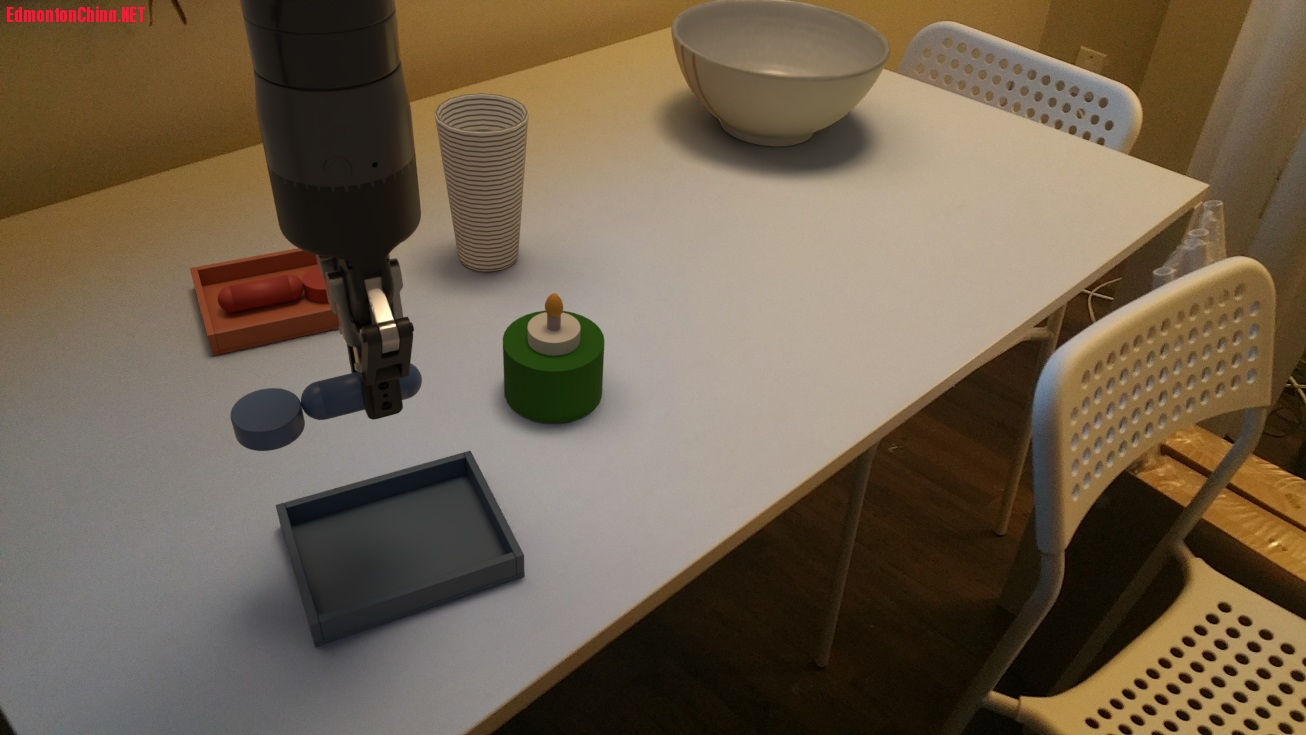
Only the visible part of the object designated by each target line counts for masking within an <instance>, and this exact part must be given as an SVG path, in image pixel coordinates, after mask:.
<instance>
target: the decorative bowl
mask: <svg viewBox="0 0 1306 735" xmlns="http://www.w3.org/2000/svg"><path fill="white" fill-rule="evenodd" d="M670 27H671V28H670V29H671V30H670V31H671V33H670V34H671V40H672V45H673V49H674V54H675V58H676V60H677V63H678V66H679V68H680V72H681V74H682V76H683V78H684V80H685V82H686V84H687V86H688V88H689V89H690V90H691V92H692V94H693V95H694V97H695V98H696V99H697V101H698V102H699V103H700V104H701V105H702V107H704V109H705V110H707V111H708V112H709V113H710V114H711V115H712V116H713V117H715V118H716V119H718V120H719V124H720V126H721V128H722V129H723V130H724V131H725V132H726V133H727V134H729V135H730V136H732V137H734V138H736V139H738V140H740V141H743V142H747V143H748V144H749V143H750V144H753V145H759V146H764V147H789V146H795V145H799V144H803V143H804V142H807V141H809V140H810V139H811V138H812V137H813V135H814V134H815V133H816V132H819V131H821V130H823V129H826V128H828V127H830V126H832V125H833V124H835V123H837V122H838V121H840V120H841V119H843V118H844V117H845V116H846V115H848V114H849V113H850V112H851V111H852V110H853V109H854V108H856V107H857V106H858V104H860V102H862V100H863V99H864V98H865V97H866V96H867V94H868V93H869V92H870V90H871V89H872V88H873V87H874V85H875V84H876V82H877V80H878V79H879V78H880V76H881V75H882V72H883V70H884V69H885V66H886V64H887V63H888V60H889V57H890V53H891V47H890V44H889V42H888V40H887V38H886V37H885V35H884V34H882V32H880V31H879V30H878V29H877V28H876V27H874V26H872V25H871V24H869V23H867V22H866V21H864V20H862V19H860V18H858V17H856V16H853V15H851V14H849V13H846V12H843V11H840V10H837V9H833V8H830V7H827V6H823V5H818V4H815V3H809V2H804V1H799V0H798V1H797V0H710V1H704V2H701V3H698V4H695V5H692V6H690V7H687V8H686V9H684V10H683V11H681V12H679V13H678V14H677V15H676V16H675V18H674V19H673V21H672V23H671V26H670Z"/></svg>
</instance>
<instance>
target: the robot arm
mask: <svg viewBox="0 0 1306 735" xmlns="http://www.w3.org/2000/svg"><path fill="white" fill-rule="evenodd" d="M239 4H240V9H241V12H242V18H243V23H244V29H245V33H246V39H247V43H248V49H249V54H250V58H251V63H252V68H253V69H252V70H253V76H254V91H255V92H254V94H255V95H254V96H255V108H256V116H257V122H258V128H259V133H260V137H261V142H262V147H263V151H264V157H265V162H266V167H267V173H268V177H269V182H270V186H271V187H270V188H271V192H272V197H273V202H274V207H275V211H276V217H277V221H278V226H279V229H280V231H281V234H282V236H283V237H284V238H285V239H286V240H287V241H288V242H289V243H290V244H291V245H292V246H294V247H295V248H299V249H301V250H304V251H306V252H309V253H312V254H316V258H317V264H318V267H319V269H320V272H321V274H322V277H323V278H324V281H325V287H326V293H327V299H328V302H329V304H330V307H331V309H332V312H333V313H334V314H335V315H336V316H337V315H338V318H339V324H340V326H339V328H338V331H339V334H340V335H342V337H343V340H344V341H345V343H346V348H347V355H348V361H349V367H350V373H354V372H358V373H359V378H360V384H361V390H362V396H363V401H364V408H365V410H364V412H365V413H366V416H367V418H368V419H369V420H373V421H374V420H379V419H382V418H386V417H390V416H393V415H398V414H399V413H401V412H402V410H403V409H404V404H403V400H402V395H401V387H400V380H399V378H402V377H406V376H409V372H410V363H411V361H412V354H413V353H412V351H413V342H414V332H415V328H414V324H413V322H411V320H410V317H408V316H404V313H403V306H402V305H403V304H402V298H401V291H402V290H403V288H404V282H403V276H402V270H401V266H400V262H399V260H398V258H397V257H394V258H391V256H390V253H391V252H393V250H395V248H397V247H398V246H400V244H401V243H404V242H405V241H406V240H408V239H409V238H410V237H411V236H412V235H414V233H415V232H416V230H417V229H418V227H419V225H420V222H421V219H422V207H421V197H420V196H421V195H420V188H419V187H420V186H419V176H418V167H417V156H416V147H415V136H414V127H413V124H414V123H413V115H412V106H411V100H410V94H409V91H408V87H407V83H406V79H405V76H404V71H403V63H402V60H401V57H402V55H401V45H400V36H399V26H398V18H397V17H398V15H397V7H396V0H239Z"/></svg>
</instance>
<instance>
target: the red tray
mask: <svg viewBox="0 0 1306 735" xmlns="http://www.w3.org/2000/svg"><path fill="white" fill-rule="evenodd" d="M316 267H318V264H317V258H316V254H312V253H309V252H306V251H304V250H301V249H299V248H298V247H296V248H292V249H287V250H281V251H275V252H270V253H264V254H259V255H253V256H247V257H242V258H238V259H232V260H227V261H221V262H216V263H210V264H205V265H200V266H193V267H190V268H189V271H190V275H191V279H192V282H193V286H194V290H195V295H196V298H197V301H198V305H199V310H200V313H201V317H202V321H203V325H204V329H205V333H206V336H207V340H208V343H209V346H210V351H211V355H212V356H213V357H214V356H219V355H223V354H227V353H233V352H237V351H242V350H246V349H252V348H255V347H260V346H265V345H269V344H273V343H279V342H282V341H283V342H284V341H287V340H292V339H297V338H302V337H306V336H311V335H315V334H320V333H324V332H328V331H333V330H337V329H338V330H339V326H340V324H339V318H338V315H337V316H336V315H335V314H334V313H333V312H332V309H331V307H330V304H329V303H316V302H313V301H310V300H309V299H308V298H307V297H306V296H305V292H304V290H303V293H302V295H301V296H300V297H299V298H298V299H296V300H293V301H288V302H283V303H278V304H273V305H268V306H263V307H259V308H254V309H249V310H244V311H239V312H227V311H225V310H223V309H222V308H221V307H220V305H219V303H218V294H219V292H220V291H221V290H222V289H223V288H225V287H227V286H231V285H236V284H242V283H247V282H252V281H257V280H262V279H268V278H273V277H278V276H283V275H294V276H297V277H298V278H299V279H300V280H301V281H302V278H303V275H304V274H305V273H306V272H307V271H309V270H311V269H313V268H316ZM302 283H303V282H302Z"/></svg>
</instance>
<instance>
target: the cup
mask: <svg viewBox="0 0 1306 735" xmlns="http://www.w3.org/2000/svg"><path fill="white" fill-rule="evenodd" d="M433 114H434V120H435V125H436V126H435V127H436V131H437V136H438V137H437V138H438V144H439V149H440V156H441V161H442V167H443V174H444V179H445V185H446V191H447V197H448V203H449V209H450V210H449V211H450V215H451V221H452V227H453V234H454V239H455V246H456V251H457V256H458V259H459V262H460V263H461V264H463V265H464V266H465V267H467V268H468V269H471V270H474V271H477V272H488V273H491V272H497V271H502V270H504V269H507V268H510V267H511V266H512V265H513V264H514V263H515V262H517V259H518V256H519V252H520V237H521V224H522V208H523V196H524V184H525V169H526V155H527V142H528V128H529V114H530V112H529V111H528V109H527V108H526V105H525V104H523V103H522V102H520V101H518V100H517V99H515V98H513V97H509V96H505V95H502V94H495V93H483V92H480V93H479V92H478V93H465V94H460V95H457V96H453V97H449V98H448V99H446V100H444V101H443V102H441V103H439V104H438V105H437V107H436V109H435V110H434V113H433Z"/></svg>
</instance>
